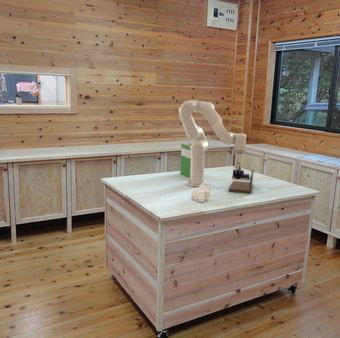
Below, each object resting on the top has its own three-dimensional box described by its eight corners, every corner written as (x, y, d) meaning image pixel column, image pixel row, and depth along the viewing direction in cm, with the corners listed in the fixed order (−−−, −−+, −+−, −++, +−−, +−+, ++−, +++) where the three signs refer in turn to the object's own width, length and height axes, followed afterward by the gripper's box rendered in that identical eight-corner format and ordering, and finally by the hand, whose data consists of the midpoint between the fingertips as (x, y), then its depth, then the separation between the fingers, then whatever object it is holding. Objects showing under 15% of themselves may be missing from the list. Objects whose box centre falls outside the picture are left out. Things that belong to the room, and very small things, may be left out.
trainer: (231, 179, 259) (232, 170, 257) (232, 177, 263) (233, 169, 262) (249, 180, 256) (250, 172, 255) (249, 179, 261) (250, 170, 259)
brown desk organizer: (229, 191, 255) (230, 174, 253) (233, 183, 278) (234, 167, 275) (250, 193, 252) (252, 176, 249) (252, 185, 275) (253, 168, 272)
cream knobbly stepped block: (208, 204, 232) (214, 188, 233) (202, 202, 228) (208, 185, 229) (195, 199, 241) (201, 183, 242) (188, 197, 237) (194, 181, 238)
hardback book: (180, 173, 303) (181, 144, 298) (188, 172, 307) (189, 143, 301) (192, 178, 288) (193, 147, 283) (200, 177, 292) (201, 147, 287)
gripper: (235, 149, 265) (233, 174, 269) (232, 153, 249) (231, 180, 253) (246, 150, 263) (244, 175, 267) (244, 154, 247) (242, 181, 251)
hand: (237, 177), depth 260 cm, fingers closed on trainer, 5 cm apart
